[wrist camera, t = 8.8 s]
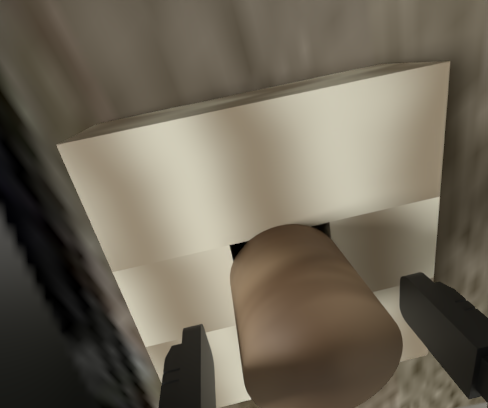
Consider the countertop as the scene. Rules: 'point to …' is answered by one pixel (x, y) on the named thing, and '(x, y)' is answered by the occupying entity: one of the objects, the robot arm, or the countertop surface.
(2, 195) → the countertop surface
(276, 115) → the birch block
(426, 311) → the robot arm
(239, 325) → the walnut peg
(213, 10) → the countertop surface
